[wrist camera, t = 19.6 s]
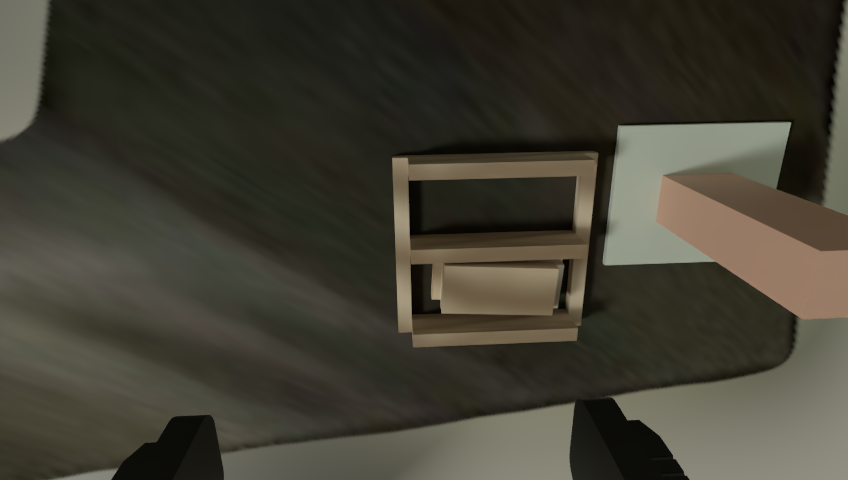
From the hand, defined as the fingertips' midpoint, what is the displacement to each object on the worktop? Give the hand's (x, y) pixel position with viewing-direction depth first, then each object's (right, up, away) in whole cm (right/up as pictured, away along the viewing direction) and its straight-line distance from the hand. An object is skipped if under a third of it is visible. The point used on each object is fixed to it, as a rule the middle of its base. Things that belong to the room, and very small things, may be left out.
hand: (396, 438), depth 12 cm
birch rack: (+6, +4, +33) cm, 34 cm away
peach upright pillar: (+23, +8, +32) cm, 41 cm away
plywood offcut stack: (+7, +2, +34) cm, 35 cm away
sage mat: (+23, +8, +33) cm, 41 cm away
